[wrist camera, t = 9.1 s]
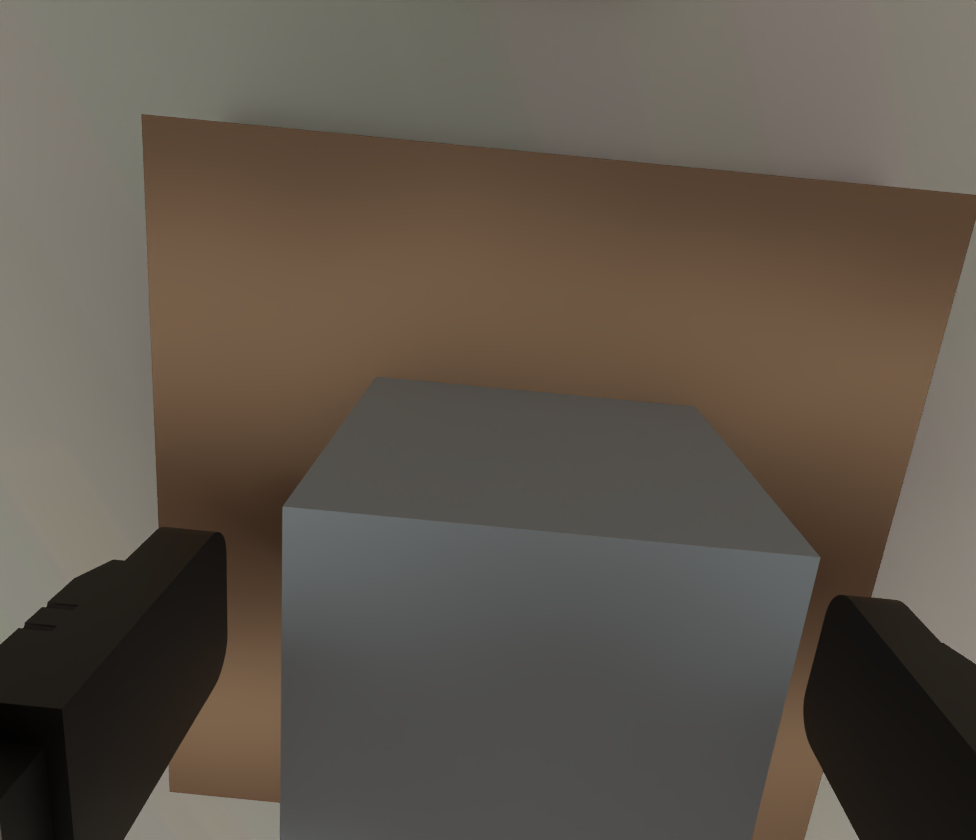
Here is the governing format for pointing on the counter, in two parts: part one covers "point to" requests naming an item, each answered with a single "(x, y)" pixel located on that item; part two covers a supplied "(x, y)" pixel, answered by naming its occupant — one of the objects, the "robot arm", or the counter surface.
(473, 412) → the slate block
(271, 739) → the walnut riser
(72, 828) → the robot arm
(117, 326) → the counter surface
